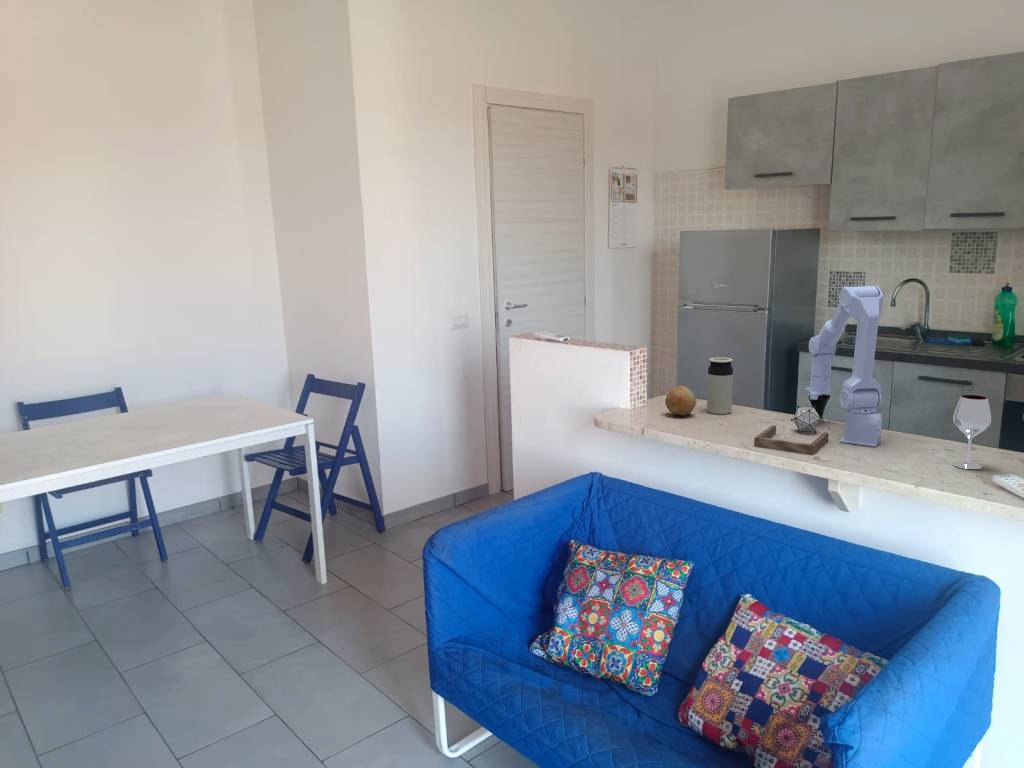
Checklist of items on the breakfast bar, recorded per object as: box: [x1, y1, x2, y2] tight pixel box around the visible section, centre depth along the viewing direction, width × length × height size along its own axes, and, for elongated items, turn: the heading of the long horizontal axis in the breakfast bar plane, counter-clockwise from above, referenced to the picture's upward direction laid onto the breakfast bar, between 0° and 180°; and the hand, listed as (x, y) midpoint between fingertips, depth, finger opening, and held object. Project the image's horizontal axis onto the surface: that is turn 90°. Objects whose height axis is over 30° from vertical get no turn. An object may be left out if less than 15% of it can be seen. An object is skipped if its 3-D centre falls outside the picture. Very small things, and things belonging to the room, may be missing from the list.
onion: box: [664, 385, 698, 417], centre depth 249 cm, size 10×10×10 cm
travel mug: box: [706, 356, 734, 415], centre depth 252 cm, size 8×8×18 cm
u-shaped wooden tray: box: [753, 425, 830, 456], centre depth 215 cm, size 16×16×2 cm
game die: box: [790, 404, 824, 434], centre depth 227 cm, size 9×8×10 cm
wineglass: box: [952, 394, 992, 470], centre depth 191 cm, size 8×8×18 cm
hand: (818, 417), depth 238 cm, fingers closed
